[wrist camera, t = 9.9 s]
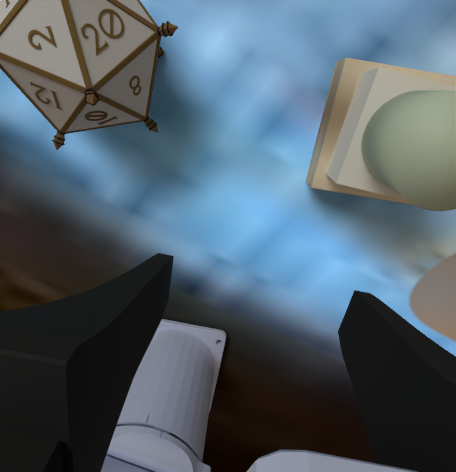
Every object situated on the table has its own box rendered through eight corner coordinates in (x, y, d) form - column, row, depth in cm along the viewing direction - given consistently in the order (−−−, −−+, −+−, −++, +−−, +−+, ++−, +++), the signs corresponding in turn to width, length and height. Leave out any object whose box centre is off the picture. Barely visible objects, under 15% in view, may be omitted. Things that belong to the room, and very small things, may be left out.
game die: (131, 34, 22) (99, -183, 12) (200, 134, 21) (225, -12, 11) (0, 87, 19) (-169, -129, 10) (73, 201, 19) (-32, 90, 9)
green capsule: (439, 187, 16) (490, 215, 13) (352, 180, 16) (378, 205, 13) (472, 94, 14) (544, 95, 11) (373, 87, 15) (411, 86, 11)
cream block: (414, 195, 19) (436, 207, 17) (325, 173, 19) (335, 183, 17) (460, 97, 17) (493, 96, 15) (361, 72, 17) (378, 67, 14)
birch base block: (406, 195, 22) (424, 206, 19) (304, 178, 22) (311, 187, 19) (450, 82, 19) (478, 80, 16) (334, 62, 19) (346, 57, 16)
